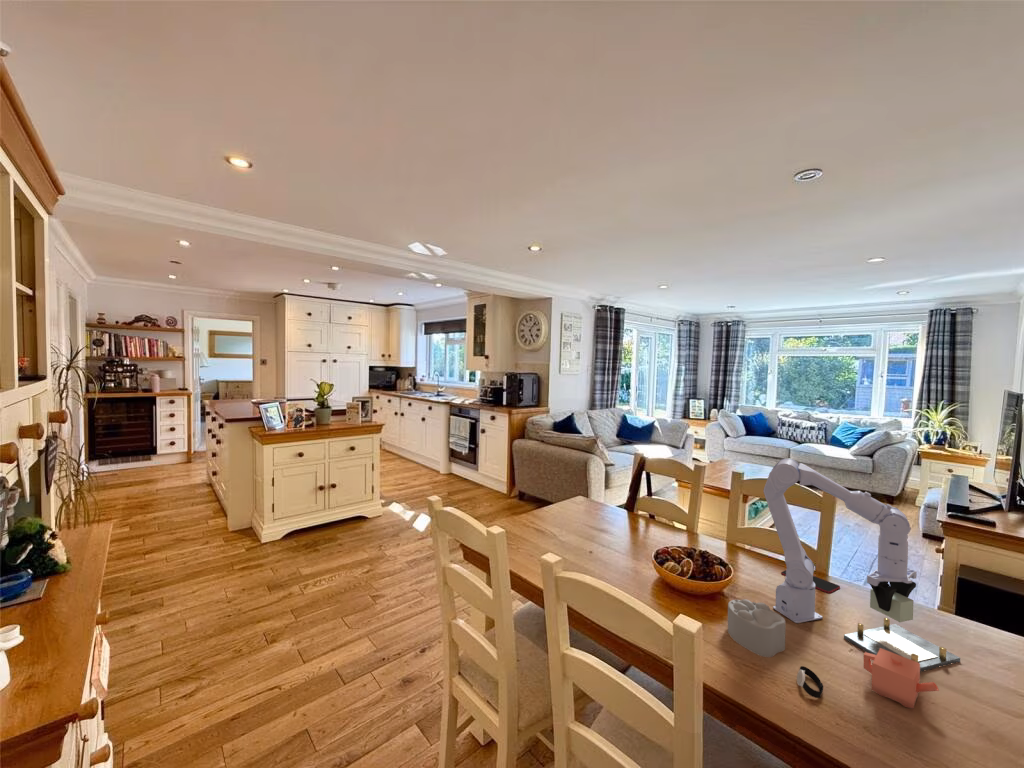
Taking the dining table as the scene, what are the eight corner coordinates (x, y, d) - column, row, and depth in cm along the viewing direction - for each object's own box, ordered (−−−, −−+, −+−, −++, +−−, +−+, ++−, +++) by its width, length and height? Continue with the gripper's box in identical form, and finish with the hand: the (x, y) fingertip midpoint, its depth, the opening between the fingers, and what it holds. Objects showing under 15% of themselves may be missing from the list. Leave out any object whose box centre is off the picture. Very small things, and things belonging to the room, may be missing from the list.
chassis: (904, 675, 98) (905, 661, 98) (843, 638, 111) (844, 625, 111) (960, 661, 102) (960, 647, 102) (894, 627, 116) (895, 614, 116)
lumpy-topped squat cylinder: (765, 660, 103) (766, 625, 103) (717, 631, 115) (718, 599, 114) (790, 647, 108) (791, 613, 108) (742, 620, 120) (742, 590, 119)
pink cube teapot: (935, 723, 85) (936, 683, 84) (859, 689, 94) (860, 652, 94) (940, 703, 90) (941, 666, 89) (867, 672, 99) (868, 638, 99)
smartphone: (791, 567, 149) (841, 586, 136) (791, 569, 149) (841, 589, 136) (779, 572, 146) (829, 592, 133) (779, 575, 146) (829, 595, 133)
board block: (899, 622, 106) (900, 602, 106) (870, 607, 113) (870, 588, 113) (912, 619, 108) (913, 600, 107) (882, 604, 114) (883, 586, 114)
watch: (793, 673, 99) (793, 658, 99) (817, 678, 97) (817, 663, 97) (801, 697, 92) (802, 680, 92) (827, 703, 90) (828, 687, 90)
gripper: (889, 567, 104) (887, 621, 105) (931, 559, 108) (929, 612, 108) (859, 554, 111) (857, 605, 111) (899, 548, 115) (898, 597, 115)
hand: (891, 607), depth 110 cm, fingers closed on board block, 4 cm apart
